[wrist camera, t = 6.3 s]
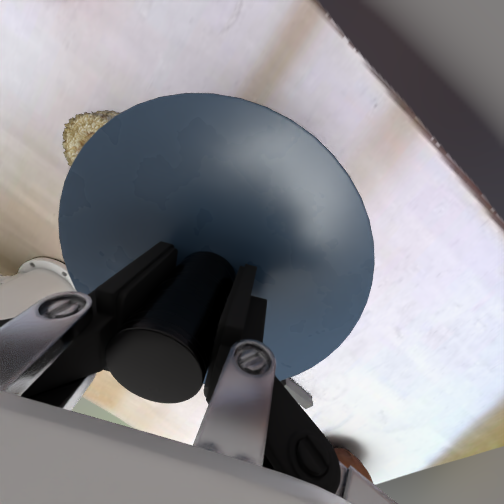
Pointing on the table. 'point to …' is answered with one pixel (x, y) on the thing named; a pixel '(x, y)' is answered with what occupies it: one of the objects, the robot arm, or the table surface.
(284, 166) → the pot lid
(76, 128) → the cake
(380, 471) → the table surface
